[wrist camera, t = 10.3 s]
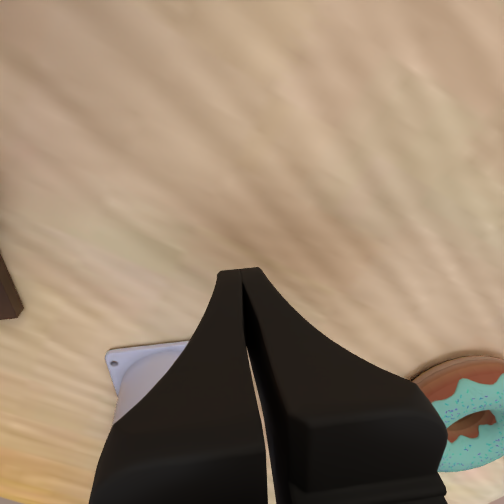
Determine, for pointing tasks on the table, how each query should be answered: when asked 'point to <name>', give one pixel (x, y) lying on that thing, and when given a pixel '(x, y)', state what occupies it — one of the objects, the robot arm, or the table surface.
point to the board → (8, 295)
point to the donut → (468, 409)
